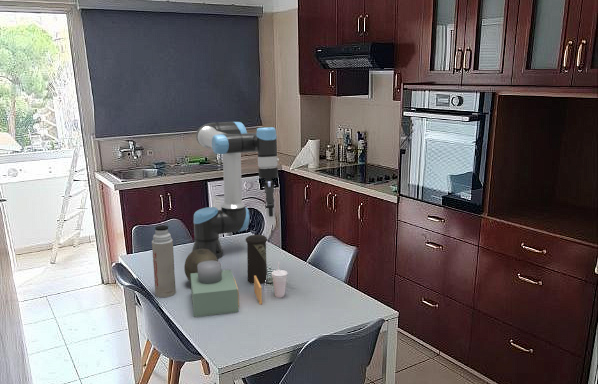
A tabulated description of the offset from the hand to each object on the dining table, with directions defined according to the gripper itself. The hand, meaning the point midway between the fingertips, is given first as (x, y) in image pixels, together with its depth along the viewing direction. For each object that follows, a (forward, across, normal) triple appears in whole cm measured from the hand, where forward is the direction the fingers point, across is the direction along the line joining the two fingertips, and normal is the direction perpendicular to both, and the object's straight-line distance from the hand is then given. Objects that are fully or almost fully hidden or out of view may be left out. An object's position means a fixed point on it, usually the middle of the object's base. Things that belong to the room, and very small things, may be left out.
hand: (270, 221), depth 193 cm
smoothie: (+30, -1, -2) cm, 30 cm away
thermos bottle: (+28, +5, +44) cm, 52 cm away
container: (+28, +15, +7) cm, 33 cm away
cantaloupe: (+28, +14, +30) cm, 43 cm away
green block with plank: (+30, -4, +19) cm, 35 cm away
